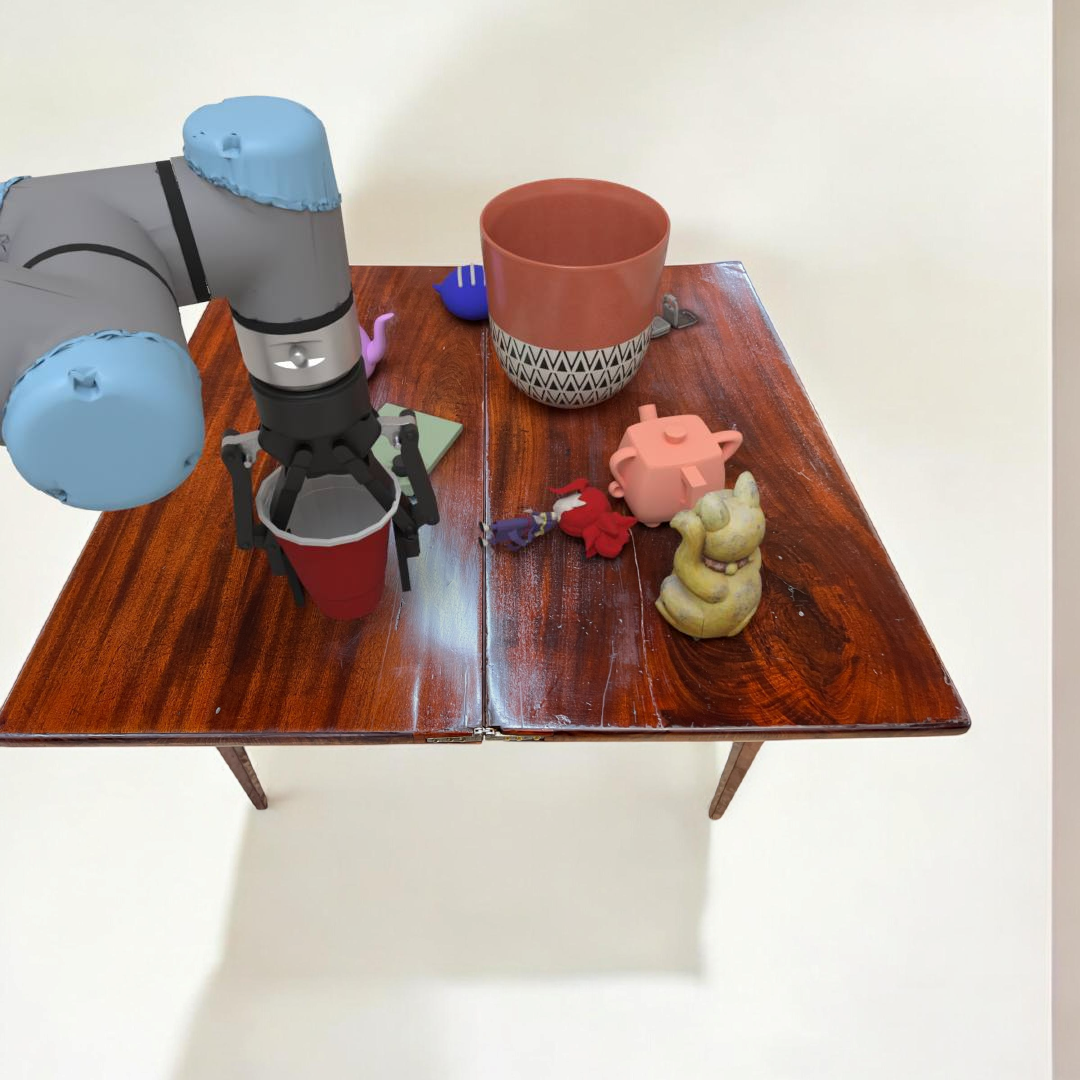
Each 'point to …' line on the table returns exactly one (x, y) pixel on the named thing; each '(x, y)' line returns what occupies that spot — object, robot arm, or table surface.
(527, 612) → the table surface
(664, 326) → the strap clip
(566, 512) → the figurine
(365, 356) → the teapot
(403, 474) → the tare button
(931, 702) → the table surface
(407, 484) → the scale
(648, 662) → the table surface
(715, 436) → the teapot
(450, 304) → the decorative object
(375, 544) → the plastic cup
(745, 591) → the decorative figurine
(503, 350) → the planter
